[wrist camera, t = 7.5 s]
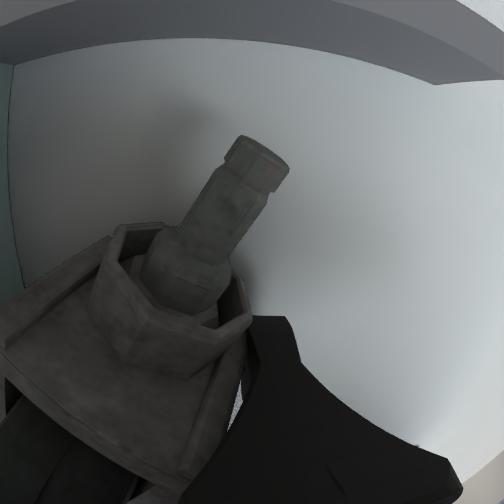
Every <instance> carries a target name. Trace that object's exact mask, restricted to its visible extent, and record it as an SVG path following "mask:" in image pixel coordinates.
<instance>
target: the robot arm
mask: <svg viewBox="0 0 504 504" xmlns="http://www.w3.org/2000/svg"><path fill="white" fill-rule="evenodd" d="M252 316H253V320H252V323H251V324H250V325H249V327H248V328H247V329H246V330H245V331H246V333H247V344H248V352H247V356H246V360H245V364H244V365H245V366H246V369H245V371H244V374H243V375H242V377H241V393H242V400H243V403H242V405H241V407H240V409H239V411H238V413H237V415H236V417H235V419H234V421H233V423H232V424H231V426H230V428H229V430H228V431H227V433H226V435H225V436H224V438H223V439H222V441H221V443H220V444H219V446H218V447H217V449H216V450H215V452H214V453H213V455H212V456H211V458H210V459H209V461H208V462H207V463H206V465H205V466H204V467H203V469H202V470H201V471H200V472H199V474H198V475H197V476H196V477H195V479H194V480H193V481H192V482H191V484H190V485H189V486H188V487H187V488H186V490H185V491H184V492H183V493H182V495H181V497H180V499H179V501H178V503H177V504H452V503H453V502H455V501H456V500H457V499H458V498H459V497H460V496H461V494H462V492H463V487H462V485H461V483H460V481H459V479H458V477H457V475H456V473H455V471H454V469H453V467H452V465H451V463H450V462H449V460H448V459H447V458H445V457H442V456H439V455H437V454H434V453H431V452H429V451H426V450H424V449H421V448H419V447H416V446H414V445H411V444H409V443H407V442H405V441H403V440H401V439H399V438H397V437H396V436H394V435H392V434H390V433H388V432H386V431H384V430H383V429H381V428H379V427H378V426H376V425H374V424H373V423H371V422H370V421H368V420H367V419H365V418H364V417H362V416H361V415H359V414H358V413H356V412H355V411H353V410H352V409H351V408H349V407H348V406H347V405H345V404H344V403H343V402H342V401H340V400H339V399H338V398H337V397H336V396H334V395H333V394H332V393H331V392H330V391H329V390H327V389H326V388H325V387H324V386H323V385H322V384H321V383H320V382H319V381H318V380H317V379H316V378H315V377H314V376H313V375H312V374H311V373H310V372H309V371H308V370H307V368H306V367H305V366H304V365H303V364H302V363H301V359H300V355H299V351H298V347H297V344H296V340H295V336H294V332H293V329H292V327H291V325H290V323H289V322H288V320H287V319H286V317H285V316H255V315H252ZM498 504H504V499H503V500H502V501H501V502H499V503H498Z"/></svg>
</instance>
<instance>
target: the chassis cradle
mask: <svg viewBox="0 0 504 504" xmlns="http://www.w3.org/2000/svg"><path fill="white" fill-rule="evenodd" d="M166 38H220V39H238V40H250V41H261V42H269V43H277V44H285V45H291V46H298V47H304V48H309V49H315V50H320V51H325V52H329V53H334V54H338V55H343V56H347V57H351V58H355V59H358V60H362V61H366V62H369V63H373V64H376V65H380V66H383V67H386V68H389V69H392V70H395V71H398V72H401V73H404V74H407V75H410V76H413V77H415V78H418V79H421V80H423V81H426V82H428V83H431V84H433V85H441V84H450V83H459V82H470V81H484V80H504V32H503V31H501V30H500V29H499V28H497V27H496V26H495V25H493V24H492V23H490V22H489V21H488V20H486V19H485V18H483V17H482V16H480V15H479V14H477V13H476V12H474V11H473V10H471V9H470V8H468V7H466V6H465V5H463V4H461V3H460V2H458V1H456V0H0V307H1V306H2V305H3V304H5V303H6V302H7V301H9V300H10V299H11V298H13V297H14V296H16V295H17V294H18V293H20V292H21V291H23V290H24V285H23V281H22V276H21V272H20V267H19V262H18V257H17V251H16V246H15V240H14V233H13V226H12V218H11V210H10V199H9V187H8V166H7V131H8V111H9V99H10V89H11V81H12V73H13V67H14V65H16V64H19V63H23V62H26V61H29V60H33V59H36V58H40V57H44V56H48V55H52V54H56V53H60V52H65V51H69V50H74V49H79V48H85V47H90V46H96V45H103V44H110V43H117V42H126V41H136V40H148V39H166Z"/></svg>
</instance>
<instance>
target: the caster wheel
mask: <svg viewBox="0 0 504 504" xmlns="http://www.w3.org/2000/svg"><path fill="white" fill-rule="evenodd" d="M224 159H225V163H224V164H223V165H221V166H220V167H218V168H217V169H216V170H215V171H214V173H213V174H212V176H211V177H210V179H209V180H208V182H207V184H206V185H205V187H204V188H203V190H202V191H201V193H200V195H199V196H198V198H197V199H196V201H195V203H194V204H193V206H192V207H191V209H190V211H189V212H188V214H187V216H186V217H185V219H184V221H183V222H182V224H181V226H177V227H170V226H168V225H166V224H164V223H162V222H157V223H139V224H122V225H119V226H118V227H116V229H115V232H114V234H113V236H112V237H110V236H106V237H105V238H103V239H101V240H100V241H98V242H96V243H95V244H93V245H91V246H90V247H88V248H86V249H85V250H83V251H82V252H80V253H78V254H77V255H75V256H74V257H72V258H70V259H69V260H67V261H66V262H64V263H63V264H61V265H60V266H58V267H57V268H55V269H53V270H52V271H50V272H49V273H47V274H46V275H44V276H43V277H41V278H40V279H39V280H37V281H36V282H34V283H33V284H31V285H30V286H28V287H27V288H25V289H24V290H23V291H21V292H20V293H18V294H17V295H16V296H14V297H13V298H11V299H10V300H9V301H7V302H6V303H5V304H3V305H2V306H1V307H0V504H177V503H178V501H179V499H180V497H181V495H182V493H183V492H184V491H185V490H186V488H187V487H188V486H189V485H190V484H191V482H192V481H193V480H194V479H195V477H196V476H197V475H198V474H199V472H200V471H201V470H202V469H203V467H204V466H205V465H206V463H207V462H208V461H209V459H210V458H211V456H212V455H213V453H214V452H215V450H216V449H217V447H218V446H219V444H220V443H221V441H222V439H223V438H224V436H225V435H226V433H227V430H228V426H229V422H230V418H231V415H232V411H233V407H234V403H235V399H236V395H237V392H238V388H239V384H240V380H241V377H242V375H243V374H244V371H245V369H246V366H245V365H244V364H245V360H246V356H247V352H248V344H247V333H246V331H245V330H246V329H247V328H248V327H249V325H250V324H251V323H252V320H253V316H252V312H251V309H250V305H249V301H248V297H247V293H246V289H245V285H244V282H243V279H242V278H241V277H240V276H239V275H238V274H237V273H236V272H235V271H234V270H233V269H232V268H231V267H230V264H229V259H228V256H229V255H230V254H231V252H232V251H233V250H234V248H235V247H236V245H237V244H238V243H239V241H240V240H241V238H242V237H243V236H244V234H245V233H246V232H247V230H248V229H249V227H250V226H251V225H252V223H253V222H254V220H255V219H256V218H257V216H258V215H259V214H260V212H261V211H262V210H263V208H264V207H265V205H266V203H267V199H268V194H269V193H270V192H275V191H276V189H277V188H278V186H279V185H280V184H281V182H282V181H283V180H284V178H285V177H286V176H287V174H288V173H289V169H290V168H289V166H288V165H287V164H286V163H285V162H284V161H283V160H282V159H281V158H280V157H279V156H277V155H276V154H275V153H273V152H272V151H271V150H269V149H268V148H266V147H265V146H263V145H261V144H260V143H258V142H257V141H255V140H253V139H251V138H249V137H247V136H244V135H241V136H239V137H238V138H237V139H236V141H235V142H234V144H233V145H232V147H231V148H230V150H229V151H228V153H227V154H226V156H225V157H224Z"/></svg>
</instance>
